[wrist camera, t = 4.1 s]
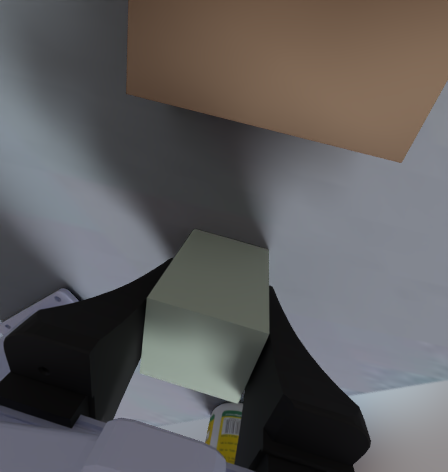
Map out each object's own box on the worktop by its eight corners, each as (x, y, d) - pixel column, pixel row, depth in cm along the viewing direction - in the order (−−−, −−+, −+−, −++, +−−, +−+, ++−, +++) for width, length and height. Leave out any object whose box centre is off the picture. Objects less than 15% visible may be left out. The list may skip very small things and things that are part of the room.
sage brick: (248, 306, 15) (237, 403, 10) (183, 287, 16) (139, 373, 10) (268, 249, 13) (269, 334, 8) (194, 228, 14) (146, 297, 8)
